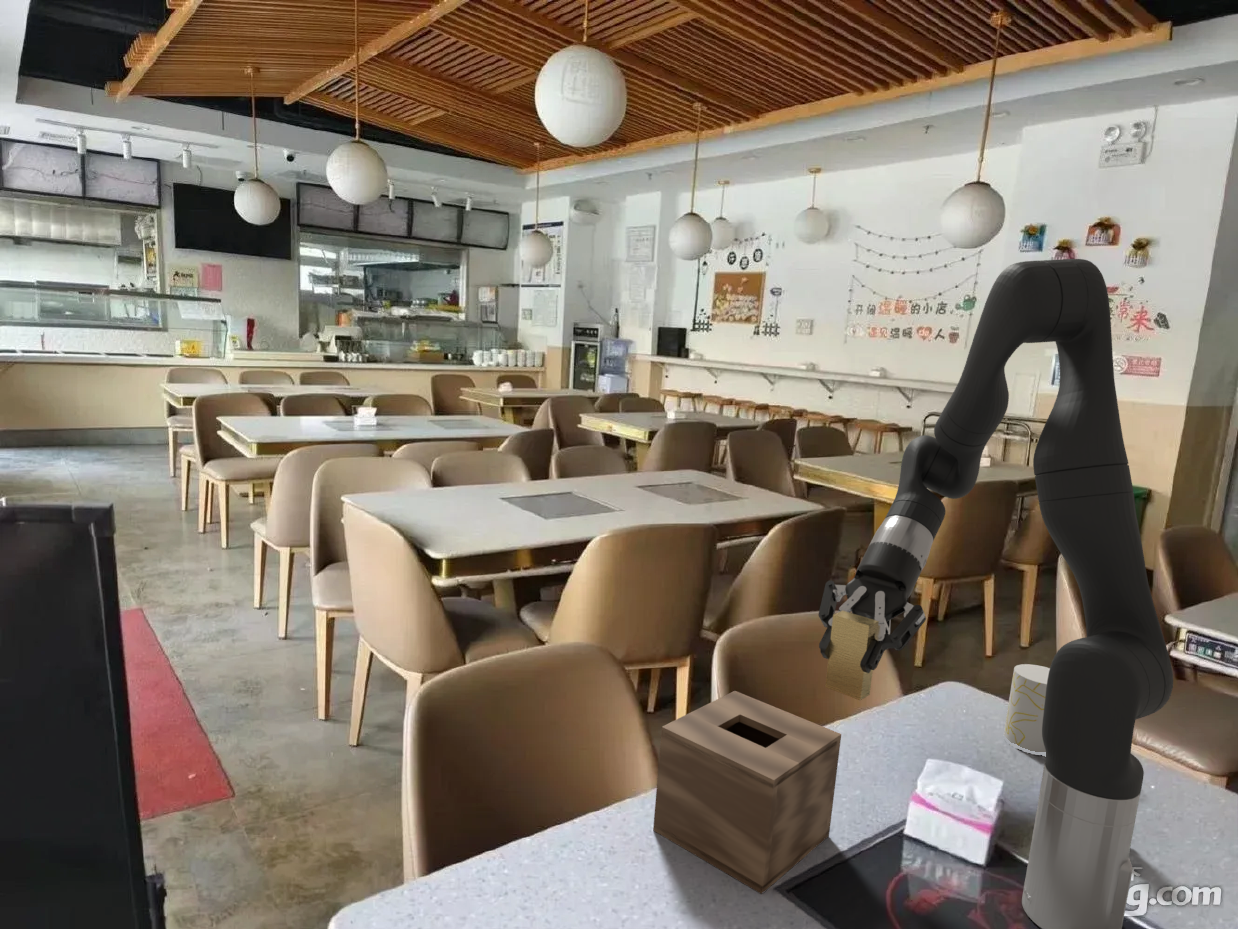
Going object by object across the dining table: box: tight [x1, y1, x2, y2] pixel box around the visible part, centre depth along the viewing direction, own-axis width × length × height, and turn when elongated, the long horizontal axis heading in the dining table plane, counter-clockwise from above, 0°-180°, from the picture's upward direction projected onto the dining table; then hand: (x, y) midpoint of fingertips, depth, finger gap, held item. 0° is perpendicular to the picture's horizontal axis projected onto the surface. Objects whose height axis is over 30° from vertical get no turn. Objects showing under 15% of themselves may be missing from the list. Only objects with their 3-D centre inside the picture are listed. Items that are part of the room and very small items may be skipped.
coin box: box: [652, 690, 842, 895], centre depth 102 cm, size 16×16×14 cm
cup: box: [1003, 663, 1050, 752], centre depth 132 cm, size 8×8×12 cm
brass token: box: [824, 611, 879, 701], centre depth 106 cm, size 3×5×10 cm, turn 47°
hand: (844, 662), depth 104 cm, fingers closed on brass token, 5 cm apart
